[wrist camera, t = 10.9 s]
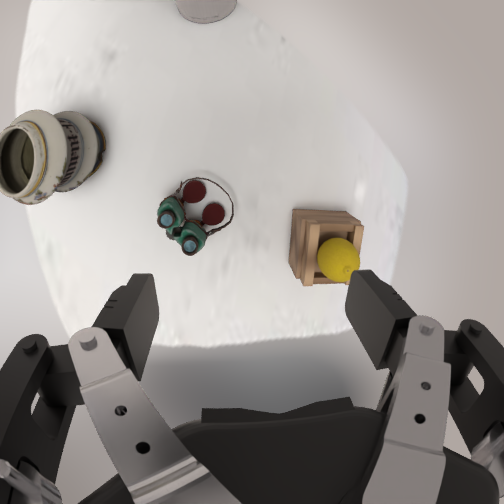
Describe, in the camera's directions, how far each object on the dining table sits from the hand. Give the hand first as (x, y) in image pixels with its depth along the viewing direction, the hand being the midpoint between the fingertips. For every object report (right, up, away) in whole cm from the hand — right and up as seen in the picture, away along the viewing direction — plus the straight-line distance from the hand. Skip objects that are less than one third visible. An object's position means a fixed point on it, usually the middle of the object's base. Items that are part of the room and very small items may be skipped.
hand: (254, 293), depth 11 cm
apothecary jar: (-28, +18, +26) cm, 43 cm away
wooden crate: (+11, +4, +35) cm, 37 cm away
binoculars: (-8, +9, +32) cm, 34 cm away
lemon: (+11, +2, +29) cm, 31 cm away
